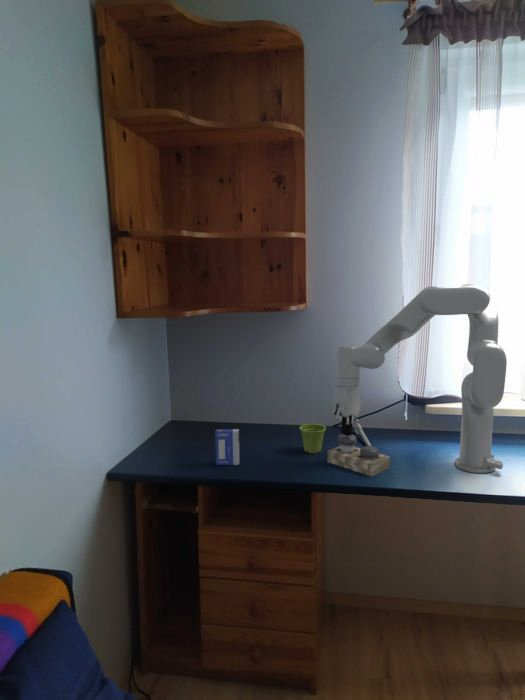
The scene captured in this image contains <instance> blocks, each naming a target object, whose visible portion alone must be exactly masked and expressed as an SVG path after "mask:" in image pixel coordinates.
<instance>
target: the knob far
mask: <svg viewBox="0 0 525 700" xmlns="http://www.w3.org/2000/svg"><path fill="white" fill-rule="evenodd" d="M337 442H338V444H339V446H340V452H343V453H346V454H351V453H354V447H356V446H355V445H356V444H357V436H356V434H355V435H354V434H352V435H350V436H346V435H343V434H342V433H341V434H339V435H338V441H337Z"/></svg>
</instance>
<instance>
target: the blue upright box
mask: <svg viewBox="0 0 525 700" xmlns="http://www.w3.org/2000/svg"><path fill="white" fill-rule="evenodd" d="M214 434H215V435H214V436H215V437H214V438H215V440H214V441H215V466H238V465H239V464H240V429H239V428H238V429H237V428H234V429H233V428H232V429H230V428H228V429H227V428H225V429H220V428H219V429H215V431H214Z"/></svg>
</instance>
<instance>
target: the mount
mask: <svg viewBox="0 0 525 700" xmlns="http://www.w3.org/2000/svg"><path fill="white" fill-rule="evenodd" d="M360 448H361V447H359V446H355V447H354V453H351V454H346V453H343V452H340V445H339V446H337V447H333V448H331V449H328V450H327V456H326V457H327V463H329V464H332V465H335V466H339V467H341V468H344V469H347V468H348V470H350V469H351V471H354V472H357V473H360V474H363V475H366V476H369V475H370V476H369V477H374V476H375V475H378V474H380V473H382V472H384V471H386V470H388V469H390V461H391V460H390V457H391V456H389V455H385V454H383V453H379V456H378V457H377V459H375V460H373V461H369V460H366V459H363V458H362V456H360Z"/></svg>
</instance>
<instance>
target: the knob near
mask: <svg viewBox="0 0 525 700" xmlns="http://www.w3.org/2000/svg"><path fill="white" fill-rule="evenodd" d="M371 446H372V445H371ZM371 446H367V445H366V446H361V447H359V448H360V456H362V458H363V459H366V460H369V461H373V460H375V459H377V457H378V456H379V454H380V450H379V448H378V447H376V446H372V447H371Z"/></svg>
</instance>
